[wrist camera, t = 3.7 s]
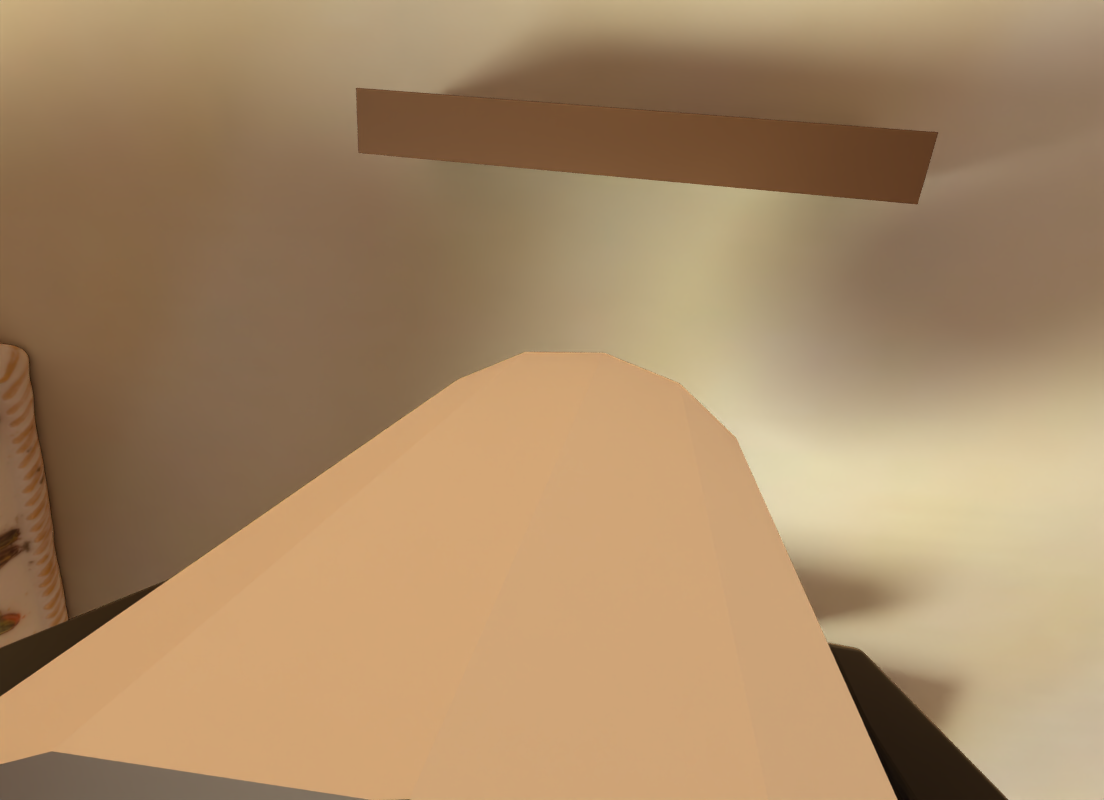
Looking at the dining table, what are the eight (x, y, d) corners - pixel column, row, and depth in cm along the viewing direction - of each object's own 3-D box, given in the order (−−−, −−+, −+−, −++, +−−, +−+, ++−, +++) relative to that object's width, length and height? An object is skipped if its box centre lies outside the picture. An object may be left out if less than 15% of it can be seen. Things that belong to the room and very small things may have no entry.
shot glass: (366, 261, 9) (-520, 573, 2) (881, 360, 8) (1770, 1267, 1) (354, 641, 11) (-66, 1279, 5) (738, 742, 11) (834, 1655, 4)
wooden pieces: (751, 633, 16) (765, 729, 14) (423, 571, 18) (376, 648, 15) (877, 136, 12) (938, 132, 9) (423, 100, 13) (356, 87, 10)
